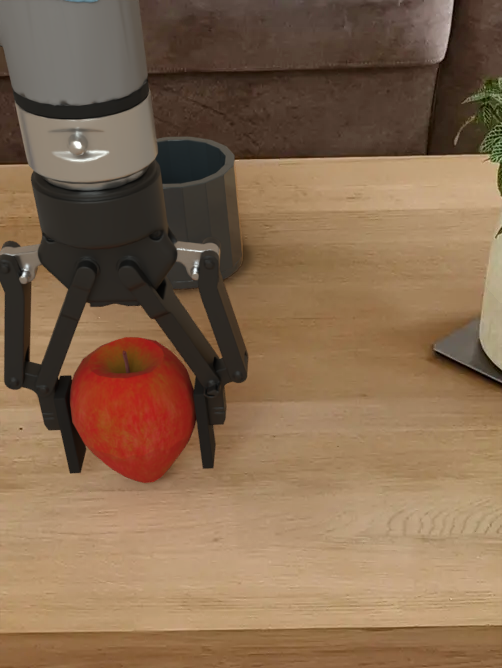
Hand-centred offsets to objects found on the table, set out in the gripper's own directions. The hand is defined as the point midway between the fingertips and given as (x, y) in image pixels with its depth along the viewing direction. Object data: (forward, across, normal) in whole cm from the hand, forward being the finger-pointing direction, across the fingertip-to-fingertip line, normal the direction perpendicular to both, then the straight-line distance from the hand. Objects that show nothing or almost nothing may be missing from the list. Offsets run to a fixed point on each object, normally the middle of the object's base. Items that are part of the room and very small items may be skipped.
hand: (143, 458), depth 83 cm
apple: (+2, 0, 0) cm, 2 cm away
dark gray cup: (+2, 0, +32) cm, 32 cm away
